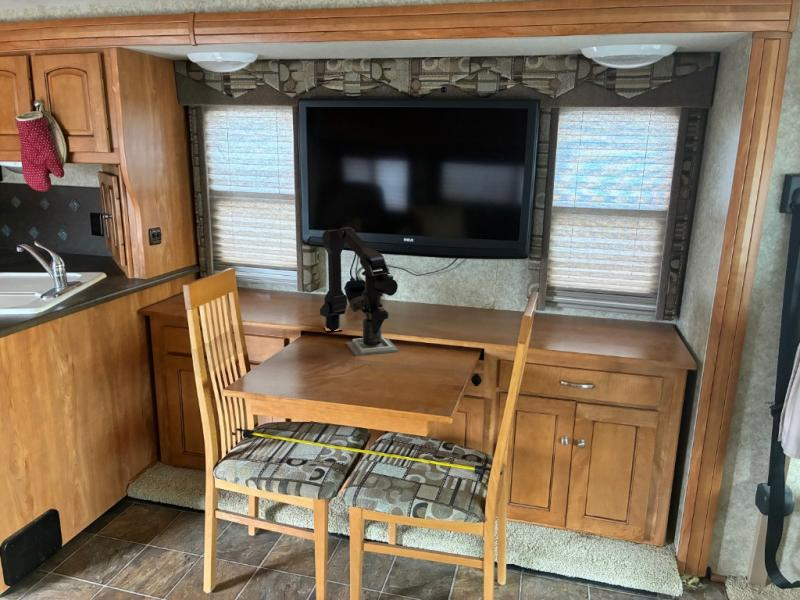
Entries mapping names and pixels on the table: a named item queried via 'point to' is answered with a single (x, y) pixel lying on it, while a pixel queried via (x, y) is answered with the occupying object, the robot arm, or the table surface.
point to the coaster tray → (371, 347)
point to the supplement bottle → (370, 332)
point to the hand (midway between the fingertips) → (372, 331)
